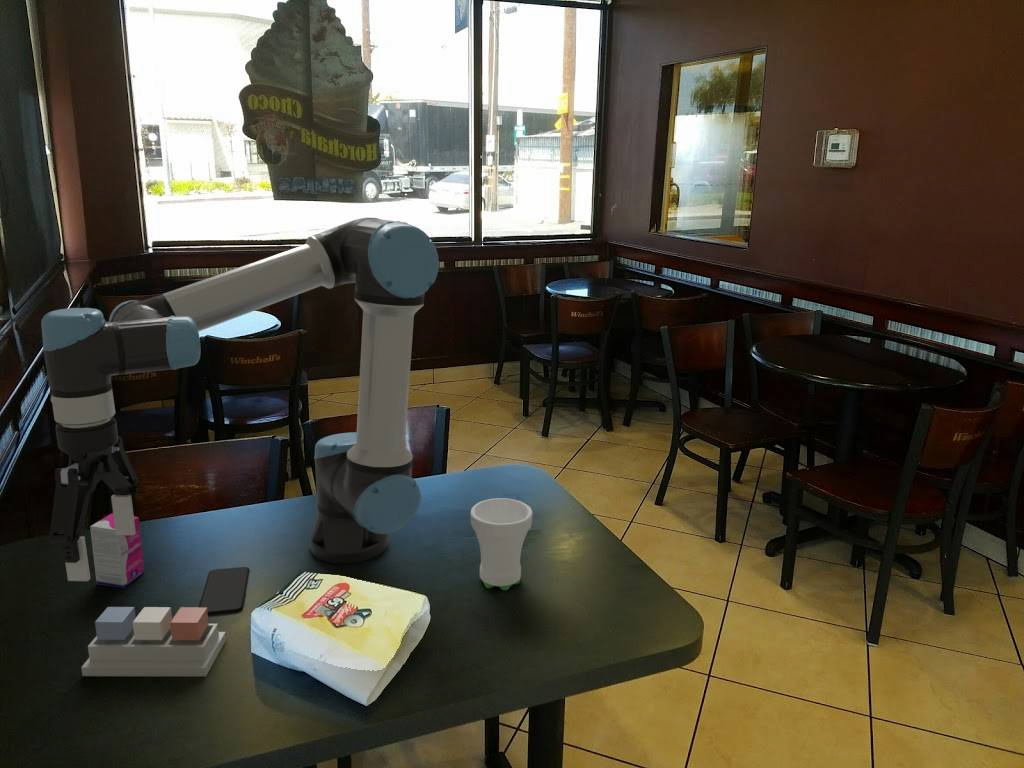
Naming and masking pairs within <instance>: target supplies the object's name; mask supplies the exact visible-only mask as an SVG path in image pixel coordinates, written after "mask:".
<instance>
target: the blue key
mask: <svg viewBox="0 0 1024 768" xmlns="http://www.w3.org/2000/svg"><path fill="white" fill-rule="evenodd" d="M136 617H137V616H136V609H135V606H107V607H106V609H105V610H104V611H103V612H102V613H101V614H100V615H99V617H98V618H97V619H96V620H95V621H94V624H95V631H96V632H95V633H96V636H97V640H125V639H126V637H127V636H128V635H129V633H130V632H131V631H132V630H133V621H134V620H135V618H136Z"/></svg>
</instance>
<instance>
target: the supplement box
mask: <svg viewBox="0 0 1024 768" xmlns="http://www.w3.org/2000/svg"><path fill="white" fill-rule="evenodd" d="M134 523H135V531H136V533H135V534H134V535H116V531H115V523H114V515H113V512H112V513H110V514H108V515H107V516H105V517H103V518H102V519H100V520H98V521H97V522H95V523H93V524H92V525H89V526H90V527H89V528H90V535H91V536H90V539H91V546H92V555H93V556H92V557H93V562H94V571H95V581H96V584H97V585H100V586H101V585H102V586H110V587H116V588H121V589H124V588H126V586H128V584H130V583H132V581H134V580H135V579H136V578H138V577H139V576H141V575H143V574H144V572H145V568H144V558H143V557H144V556H143V549H142V548H143V547H142V538H141V536H142V535H141V526H140V518H139V517H138V516H135V515H134Z"/></svg>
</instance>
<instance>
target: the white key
mask: <svg viewBox="0 0 1024 768" xmlns="http://www.w3.org/2000/svg"><path fill="white" fill-rule="evenodd" d="M172 619H173V614H172V607H167V606H165V607H164V606H160V607H159V606H144V607H143V608H142V609H141V611H140V612H139V613H138V615H137V616H136V618H135V620H134V621H133V629H134V637H135V640H162V639H163V638H164V636H165V635H166V633H167V632H168V630H169V629H170V628H171V625H170V622H171V621H172Z"/></svg>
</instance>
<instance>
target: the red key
mask: <svg viewBox="0 0 1024 768" xmlns="http://www.w3.org/2000/svg"><path fill="white" fill-rule="evenodd" d="M209 624H210V623H209V615H208V612H207V607H199V606H198V607H196V606H195V607H193V606H191V607H189V606H187V607H185V606H180V607H179V608H178V610H177V612H176V613H175V615H174V616H173V617H172V621H171V622H170V625H171V634H172V640H200V638H201V636H202V635H203V633H204V631H205V630H206V628H207V627H208V625H209Z"/></svg>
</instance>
